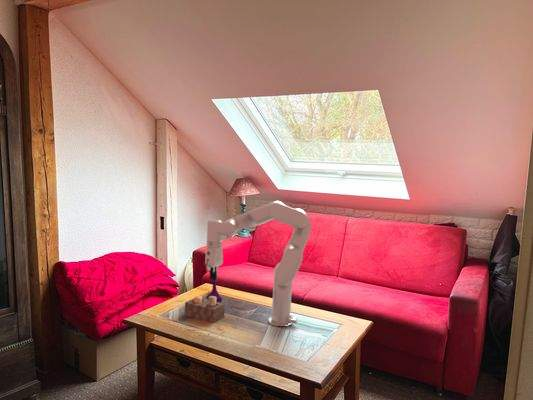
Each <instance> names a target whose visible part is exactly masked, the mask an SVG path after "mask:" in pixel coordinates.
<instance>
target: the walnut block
mask: <svg viewBox="0 0 533 400" xmlns="http://www.w3.org/2000/svg"><path fill="white" fill-rule="evenodd" d="M208 303H209V300H208V299H207V298H202V303H200V304H198V303H194V298H192V299H190V300H188V301H185V302H184V316H186V317H189V318H193V319H196V320H201V321H205V322H208V323H211V324H214V323H216V322H217V321H219V320H222V319H223V318H225V308H226V303H223V302H220V303H219V302H216V306H215V307H210V306H208Z"/></svg>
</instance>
